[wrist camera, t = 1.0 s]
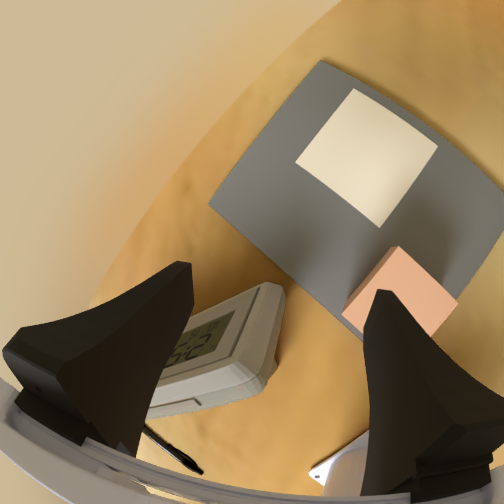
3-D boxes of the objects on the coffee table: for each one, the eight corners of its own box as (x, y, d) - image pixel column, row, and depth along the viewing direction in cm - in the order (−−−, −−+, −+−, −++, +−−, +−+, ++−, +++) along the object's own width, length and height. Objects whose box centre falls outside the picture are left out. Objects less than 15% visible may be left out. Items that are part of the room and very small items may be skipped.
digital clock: (292, 274, 23) (235, 293, 13) (317, 380, 23) (280, 458, 13) (140, 310, 29) (55, 329, 19) (164, 391, 28) (90, 433, 18)
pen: (208, 466, 27) (205, 470, 26) (202, 474, 27) (198, 478, 26) (119, 394, 32) (114, 395, 30) (114, 403, 31) (109, 404, 30)
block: (438, 291, 18) (458, 303, 14) (394, 343, 20) (400, 368, 15) (390, 246, 20) (398, 246, 15) (346, 300, 21) (341, 314, 16)
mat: (512, 207, 16) (517, 206, 16) (392, 365, 20) (393, 369, 19) (322, 64, 22) (320, 59, 21) (212, 205, 26) (207, 203, 25)
